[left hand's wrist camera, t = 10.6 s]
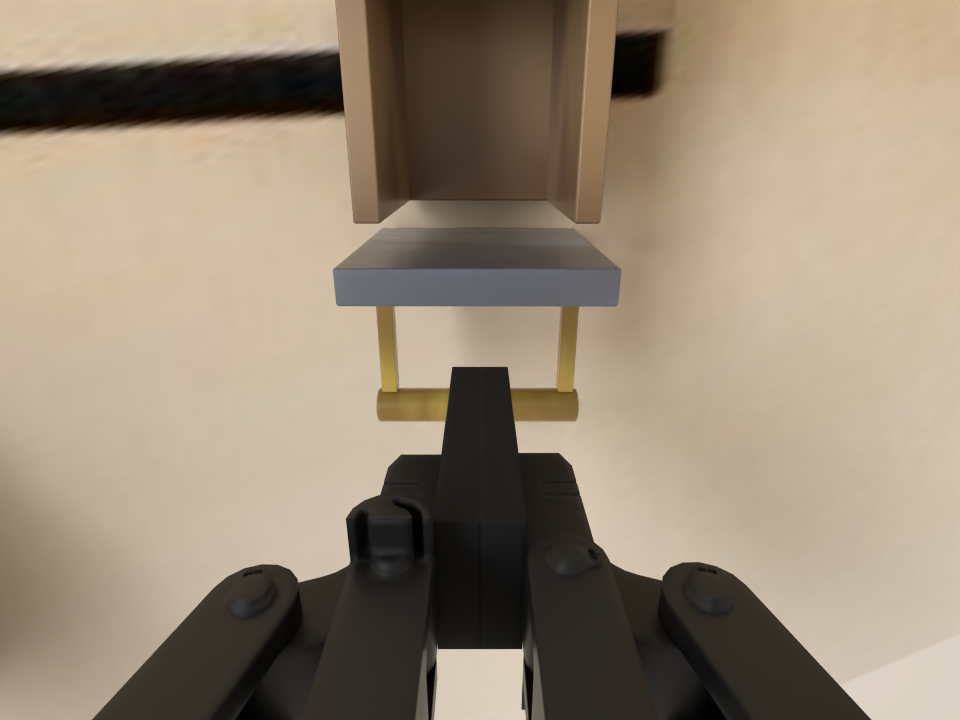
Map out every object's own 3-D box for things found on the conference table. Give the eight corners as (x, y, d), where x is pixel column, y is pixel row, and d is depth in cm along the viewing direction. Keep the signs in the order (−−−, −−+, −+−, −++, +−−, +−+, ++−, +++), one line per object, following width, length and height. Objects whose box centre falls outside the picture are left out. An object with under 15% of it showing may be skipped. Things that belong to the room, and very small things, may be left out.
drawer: (565, 367, 27) (603, 463, 19) (390, 367, 27) (351, 463, 19) (611, -349, 18) (724, -777, 10) (344, -349, 18) (228, -778, 10)
